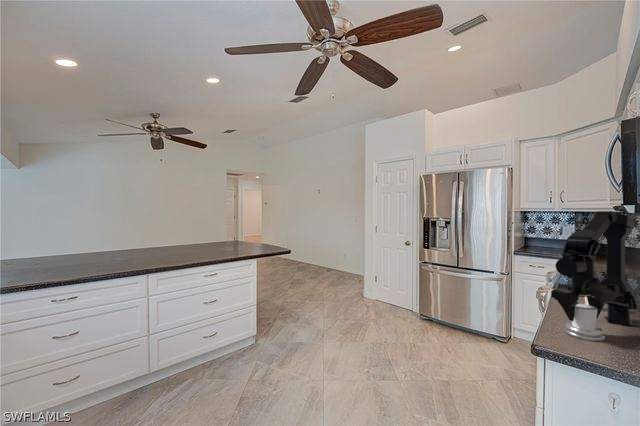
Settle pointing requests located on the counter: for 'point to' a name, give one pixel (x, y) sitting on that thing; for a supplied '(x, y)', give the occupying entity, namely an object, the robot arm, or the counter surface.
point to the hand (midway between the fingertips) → (583, 319)
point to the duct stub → (584, 333)
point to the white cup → (585, 317)
